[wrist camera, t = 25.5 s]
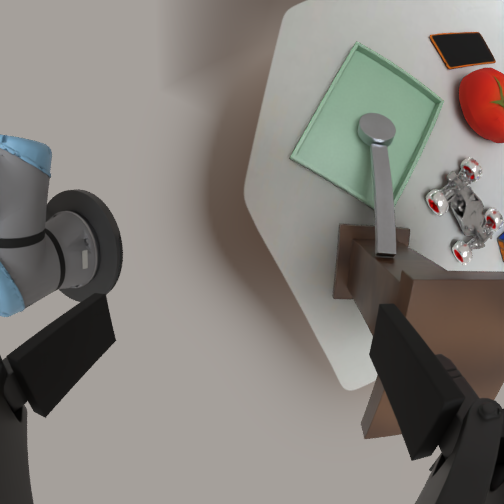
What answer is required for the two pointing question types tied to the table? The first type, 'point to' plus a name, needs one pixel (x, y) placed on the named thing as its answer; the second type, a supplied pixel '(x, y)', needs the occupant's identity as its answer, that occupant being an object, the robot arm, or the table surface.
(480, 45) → the smartphone
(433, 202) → the toy car
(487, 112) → the tomato
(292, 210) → the table surface
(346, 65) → the tray
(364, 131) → the measuring spoon
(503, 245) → the puzzle
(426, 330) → the wooden pedestal stand
